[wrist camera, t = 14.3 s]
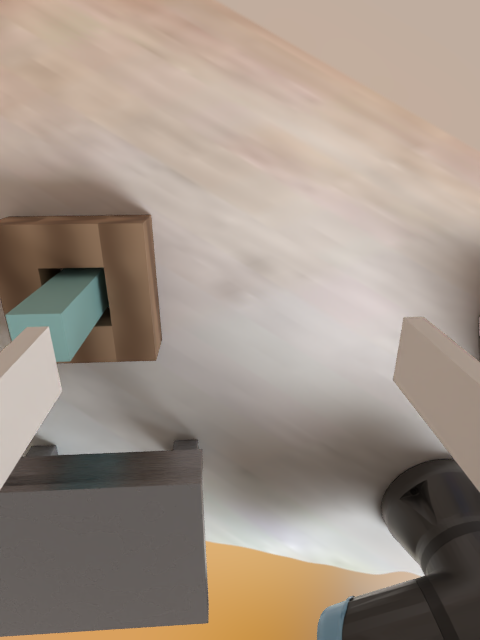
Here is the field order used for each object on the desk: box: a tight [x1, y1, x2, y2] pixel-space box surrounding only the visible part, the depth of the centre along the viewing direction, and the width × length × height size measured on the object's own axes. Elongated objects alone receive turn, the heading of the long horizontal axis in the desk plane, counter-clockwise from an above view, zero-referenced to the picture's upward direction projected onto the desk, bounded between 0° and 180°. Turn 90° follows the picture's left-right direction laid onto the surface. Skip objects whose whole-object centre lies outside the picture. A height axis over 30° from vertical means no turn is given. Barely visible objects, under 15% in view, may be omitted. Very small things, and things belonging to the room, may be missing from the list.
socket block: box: [0, 215, 162, 364], centre depth 41 cm, size 14×14×5 cm
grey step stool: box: [0, 440, 209, 637], centre depth 41 cm, size 24×16×20 cm, turn 90°
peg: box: [5, 267, 109, 362], centre depth 37 cm, size 4×4×14 cm
